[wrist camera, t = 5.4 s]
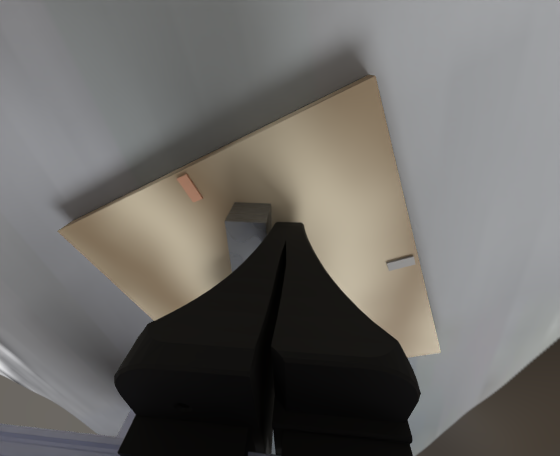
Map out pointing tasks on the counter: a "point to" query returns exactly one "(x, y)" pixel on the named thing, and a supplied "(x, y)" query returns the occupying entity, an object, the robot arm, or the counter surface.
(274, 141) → the plate
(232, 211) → the t key
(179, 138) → the counter surface
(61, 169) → the counter surface
